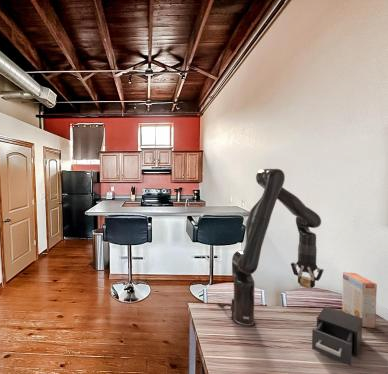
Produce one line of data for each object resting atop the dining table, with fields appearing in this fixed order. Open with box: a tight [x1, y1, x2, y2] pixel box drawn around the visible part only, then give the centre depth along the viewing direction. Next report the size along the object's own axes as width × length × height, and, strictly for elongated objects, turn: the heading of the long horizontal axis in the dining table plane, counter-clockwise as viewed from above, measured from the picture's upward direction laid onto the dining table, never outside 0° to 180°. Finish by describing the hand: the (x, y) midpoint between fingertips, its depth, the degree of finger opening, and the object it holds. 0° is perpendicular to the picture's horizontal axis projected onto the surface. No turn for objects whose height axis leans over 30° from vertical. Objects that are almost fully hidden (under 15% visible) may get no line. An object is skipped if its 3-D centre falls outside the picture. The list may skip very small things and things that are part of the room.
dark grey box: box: [316, 305, 363, 357], centre depth 99 cm, size 15×13×10 cm
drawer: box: [311, 321, 354, 367], centre depth 90 cm, size 18×11×8 cm, turn 130°
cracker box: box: [341, 271, 378, 329], centre depth 114 cm, size 14×6×21 cm, turn 168°
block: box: [299, 275, 312, 290], centre depth 118 cm, size 4×4×4 cm
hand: (306, 285), depth 118 cm, fingers closed on block, 4 cm apart
